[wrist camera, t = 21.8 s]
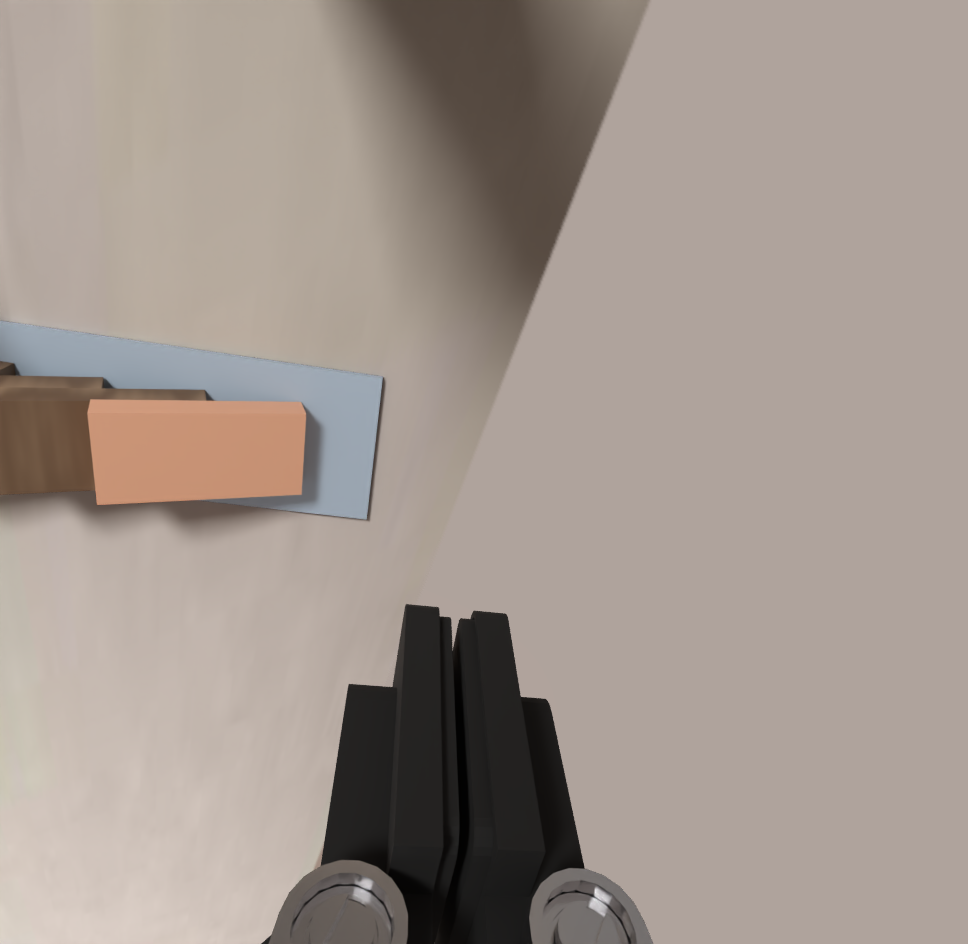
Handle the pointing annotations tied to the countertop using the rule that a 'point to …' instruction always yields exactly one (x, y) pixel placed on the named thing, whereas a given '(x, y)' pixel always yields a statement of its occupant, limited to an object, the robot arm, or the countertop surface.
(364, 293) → the countertop surface
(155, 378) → the pale blue placemat
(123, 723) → the countertop surface
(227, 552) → the countertop surface
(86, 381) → the domino
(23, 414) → the domino
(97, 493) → the terracotta domino
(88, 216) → the countertop surface
